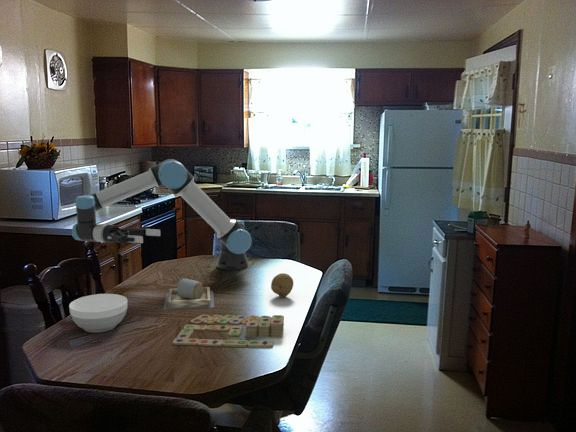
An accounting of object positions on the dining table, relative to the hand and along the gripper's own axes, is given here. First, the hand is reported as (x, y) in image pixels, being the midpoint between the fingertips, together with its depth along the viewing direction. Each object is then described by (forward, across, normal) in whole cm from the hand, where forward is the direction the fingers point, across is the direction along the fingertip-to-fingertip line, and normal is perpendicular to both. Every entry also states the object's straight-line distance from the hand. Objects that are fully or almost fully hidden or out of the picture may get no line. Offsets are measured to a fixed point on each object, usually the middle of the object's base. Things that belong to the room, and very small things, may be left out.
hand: (151, 236), depth 216 cm
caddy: (+20, +7, -23) cm, 31 cm away
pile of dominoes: (+48, +30, -25) cm, 61 cm away
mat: (+20, +7, -24) cm, 32 cm away
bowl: (+3, +41, -23) cm, 47 cm away
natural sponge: (+53, -8, -25) cm, 59 cm away
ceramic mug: (+20, +5, -23) cm, 31 cm away
